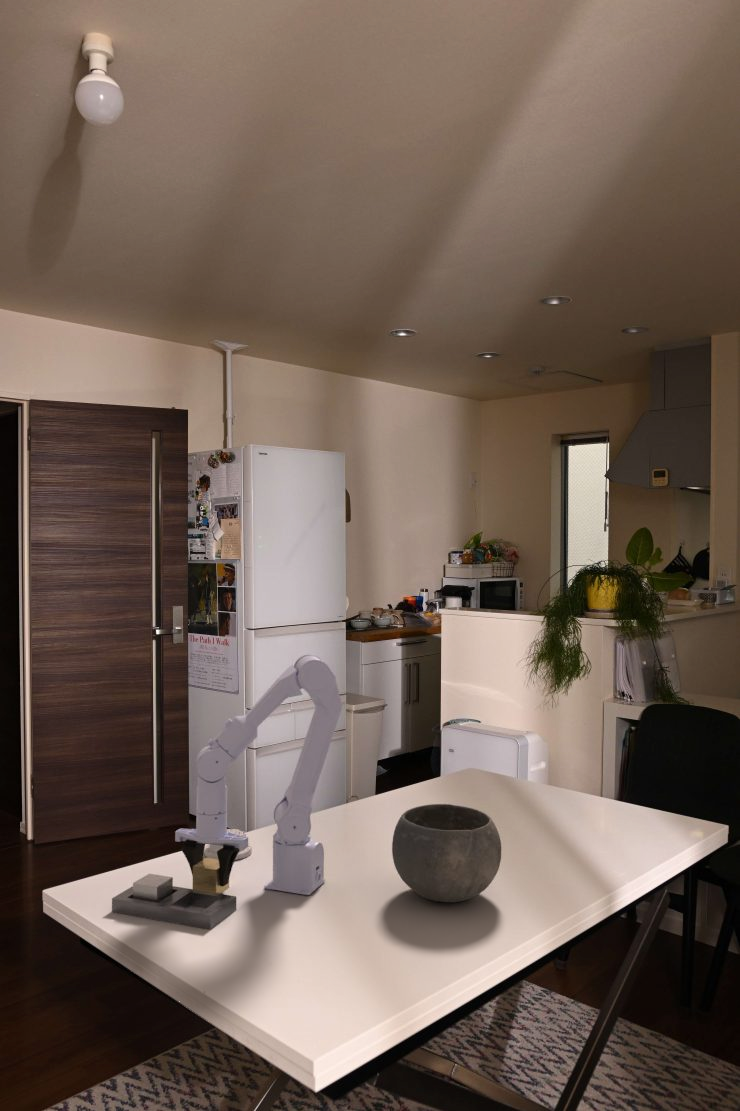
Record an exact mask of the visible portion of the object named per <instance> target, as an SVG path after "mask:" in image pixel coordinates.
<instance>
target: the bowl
mask: <svg viewBox="0 0 740 1111" xmlns="http://www.w3.org/2000/svg"><path fill="white" fill-rule="evenodd" d="M391 842H392V844H391V851H392V852H391V853H392V854H391V855H392V859H393V864H394V867H395V870H396V872H397V874H398V875H399V877H400V879H401V880H402V881H403V882H404V884H406V886H408V888H410V889H411V891H413V892H414V893H416V894H418V895H419V896H421V897H423V898H425V899H427V900H429V901H433V902H440V903H457V902H462V901H466V900H469V899H471V898H474V897H476V896H478V895H479V894H481V893H482V892H484V891H485V890H486V889H487V888H489V886H490V885H491V884H492V882H493V880H494V879H495V877H496V875H497V874H498V871H499V868H500V865H501V860H502V840H501V837H500V833H499V831H498V829H497V826H496V825H495V822H494V821H493V819H492V818H491V817H490V816H489V815H488V814H486V813H485V812H483V811H481V810H478V809H476V808H472V807H469V806H463V805H457V804H451V803H450V804H449V803H432V804H431V803H430V804H423V805H419V806H416V807H412V808H409V809H407V810H406V811H404V813H402V815H401V816H400V817H399V819H398V821H397V823H396V825H395V828H394V831H393V835H392V841H391Z"/></svg>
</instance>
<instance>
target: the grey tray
mask: <svg viewBox="0 0 740 1111" xmlns="http://www.w3.org/2000/svg"><path fill="white" fill-rule="evenodd" d="M190 906H193V907H200V908H204V909H203V910H200V909H195V908H191V907H190ZM189 907H190V908H189ZM236 911H237V896H235V895H228V894H223V893H220V894H218V893H212V892H206V891H200V890H194V889H193V888H187V887H182V886H174V885H173V894H171V895H170V896H168V897H167V898H165V899H164V900H162V901H161V902H159V903H155V902H149V901H143V900H138V899H133V885H132V886H130V887H129V888H127V889H125V890H123V891H122V892H120V893H119V894H117V895H115V896H113V897H112V898H111V913H116V912H117V913H118V914H121V913H122V914H121V915H128V916H133V917H139V918H144V919H150V920H156V921H162V922H166V923H171V924H178V925H184V926H188V927H195V928H200V929H205V930H212V929H213V928H215V927H216V926H217V925H219V924H220V923H221V922H222V921H223V920H225V919H226V918H228V917H229V916H231V915H232V914H233V913H234V912H236Z"/></svg>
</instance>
